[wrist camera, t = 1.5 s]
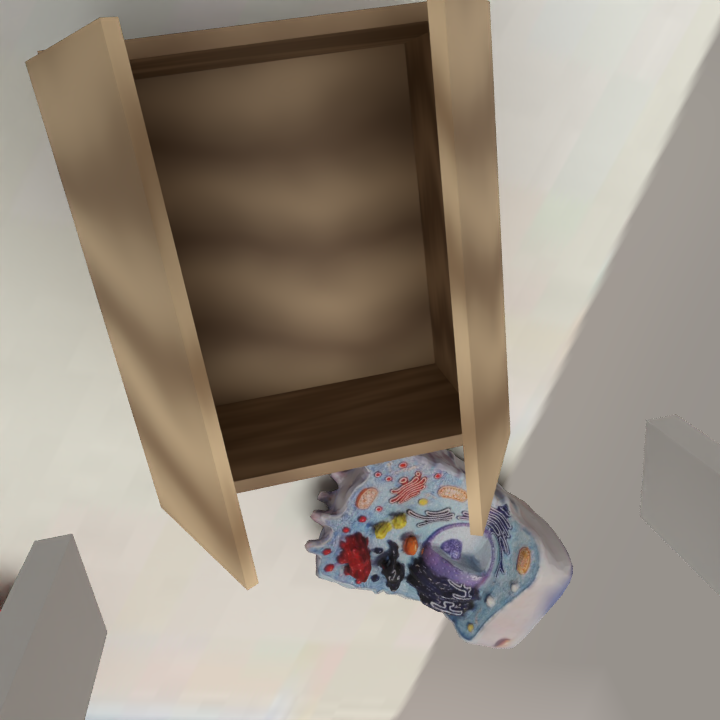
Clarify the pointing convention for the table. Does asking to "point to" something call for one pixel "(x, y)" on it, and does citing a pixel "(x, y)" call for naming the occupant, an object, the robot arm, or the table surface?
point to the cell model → (441, 547)
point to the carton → (309, 234)
